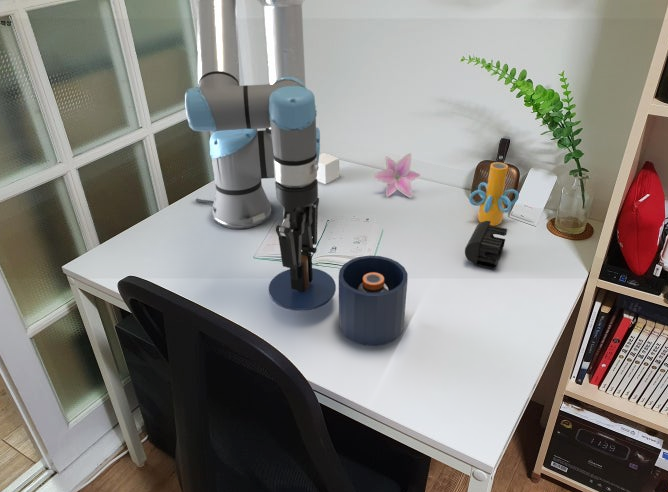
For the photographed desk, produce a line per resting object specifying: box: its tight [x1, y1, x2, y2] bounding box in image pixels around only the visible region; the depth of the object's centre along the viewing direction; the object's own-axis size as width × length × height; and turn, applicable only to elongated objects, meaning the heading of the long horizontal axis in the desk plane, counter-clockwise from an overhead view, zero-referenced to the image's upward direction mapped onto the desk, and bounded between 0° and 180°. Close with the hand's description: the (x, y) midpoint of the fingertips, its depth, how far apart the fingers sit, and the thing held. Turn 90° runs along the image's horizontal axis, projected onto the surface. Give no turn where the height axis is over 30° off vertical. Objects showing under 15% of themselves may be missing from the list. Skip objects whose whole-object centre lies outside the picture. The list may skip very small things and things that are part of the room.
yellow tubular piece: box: [468, 161, 520, 227], centre depth 138 cm, size 12×10×15 cm
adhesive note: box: [316, 152, 340, 185], centre depth 162 cm, size 6×6×6 cm
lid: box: [268, 255, 337, 312], centre depth 112 cm, size 14×14×8 cm
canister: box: [338, 255, 409, 347], centre depth 107 cm, size 13×13×12 cm
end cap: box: [464, 221, 508, 271], centre depth 128 cm, size 10×7×7 cm
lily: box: [372, 152, 422, 199], centre depth 155 cm, size 12×12×10 cm
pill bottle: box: [357, 272, 389, 293], centre depth 107 cm, size 6×6×11 cm
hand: (302, 284), depth 113 cm, fingers closed on lid, 3 cm apart
